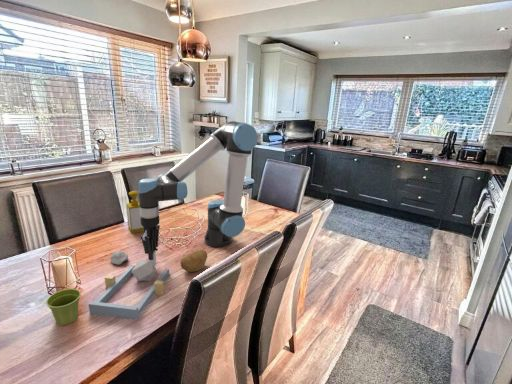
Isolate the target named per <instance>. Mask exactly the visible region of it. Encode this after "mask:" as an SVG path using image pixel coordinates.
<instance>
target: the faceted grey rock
mask: <svg viewBox="0 0 512 384" xmlns="http://www.w3.org/2000/svg"><path fill="white" fill-rule="evenodd" d="M134 265H135V267H134V268H133V270H132V271H131V272H132V275H133V277H134V279H136V281H138V282H139V281H142V282H150V281H151V280H152V279H153V277H154V275H155V273H156V272H157V267H156V265H155V266H154V264H153V262H152V260H149V259H138V260H137V262H136V263H135V264H134Z"/></svg>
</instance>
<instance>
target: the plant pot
mask: <svg viewBox="0 0 512 384" xmlns="http://www.w3.org/2000/svg"><path fill="white" fill-rule="evenodd" d="M81 294H82V293H81V291H80V290H79V289H77V288H65V289H60V290H58V291H56V292H54V293H53V294H51V295H49V297H47V298H46V299H47V300H46V301H45V304H46V306H47V307H48V308H49V309H50V311H51V314H52V315H53V318H54V321H55V322H56V325H58V326H64V325H66V326H67V325H70V324H72V323H74V322H75V321H76V320H78V316H79V301H80V298H81V296H82V295H81Z"/></svg>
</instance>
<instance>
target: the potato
mask: <svg viewBox="0 0 512 384" xmlns="http://www.w3.org/2000/svg"><path fill="white" fill-rule="evenodd" d="M207 259H208V253H207V251H206V250H203V249H198V250H195V251H192V252H189V253H188V254H185V255H184V256H183V257H182V258H180V267H181V269H183V270H184V271H185V272H188V273H193V272H197V271H199V270H202V269H203V268H204V267H205V264H206V262H207Z"/></svg>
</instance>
